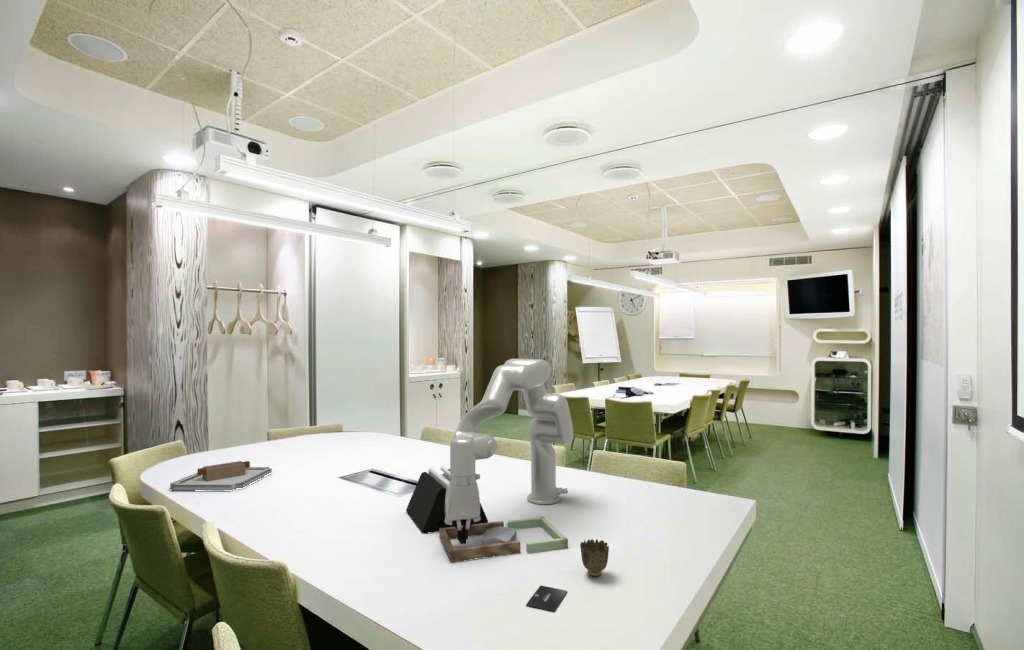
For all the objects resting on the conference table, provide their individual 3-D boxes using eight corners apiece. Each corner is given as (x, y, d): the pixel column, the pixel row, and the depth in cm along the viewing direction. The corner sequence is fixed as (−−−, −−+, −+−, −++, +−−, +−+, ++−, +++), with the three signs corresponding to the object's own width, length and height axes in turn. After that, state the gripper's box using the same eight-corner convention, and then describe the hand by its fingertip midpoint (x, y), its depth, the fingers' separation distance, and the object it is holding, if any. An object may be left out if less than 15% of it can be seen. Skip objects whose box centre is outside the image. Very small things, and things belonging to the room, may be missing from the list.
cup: (577, 569, 131) (577, 539, 131) (604, 568, 131) (604, 538, 131) (584, 583, 123) (583, 550, 123) (612, 581, 124) (612, 549, 124)
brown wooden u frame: (502, 530, 158) (502, 520, 158) (520, 552, 141) (520, 542, 141) (439, 538, 152) (439, 528, 152) (449, 562, 135) (449, 551, 135)
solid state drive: (525, 607, 112) (525, 604, 112) (540, 587, 122) (540, 585, 122) (554, 614, 110) (554, 611, 110) (567, 593, 119) (567, 590, 119)
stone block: (479, 557, 143) (512, 553, 141) (476, 540, 143) (509, 536, 141) (488, 542, 154) (519, 538, 153) (485, 527, 155) (516, 522, 153)
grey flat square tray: (237, 493, 201) (238, 474, 201) (165, 492, 202) (166, 474, 202) (274, 473, 231) (274, 457, 231) (211, 473, 232) (211, 457, 232)
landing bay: (543, 524, 163) (543, 516, 164) (568, 547, 144) (567, 539, 145) (507, 528, 160) (507, 520, 160) (528, 553, 141) (528, 544, 141)
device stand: (422, 535, 155) (422, 487, 156) (406, 513, 176) (406, 470, 176) (487, 523, 165) (487, 478, 166) (465, 504, 185) (465, 464, 186)
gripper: (483, 474, 152) (483, 534, 151) (435, 478, 147) (435, 540, 146) (490, 480, 144) (490, 544, 144) (439, 485, 140) (439, 550, 139)
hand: (462, 542), depth 145 cm, fingers closed
